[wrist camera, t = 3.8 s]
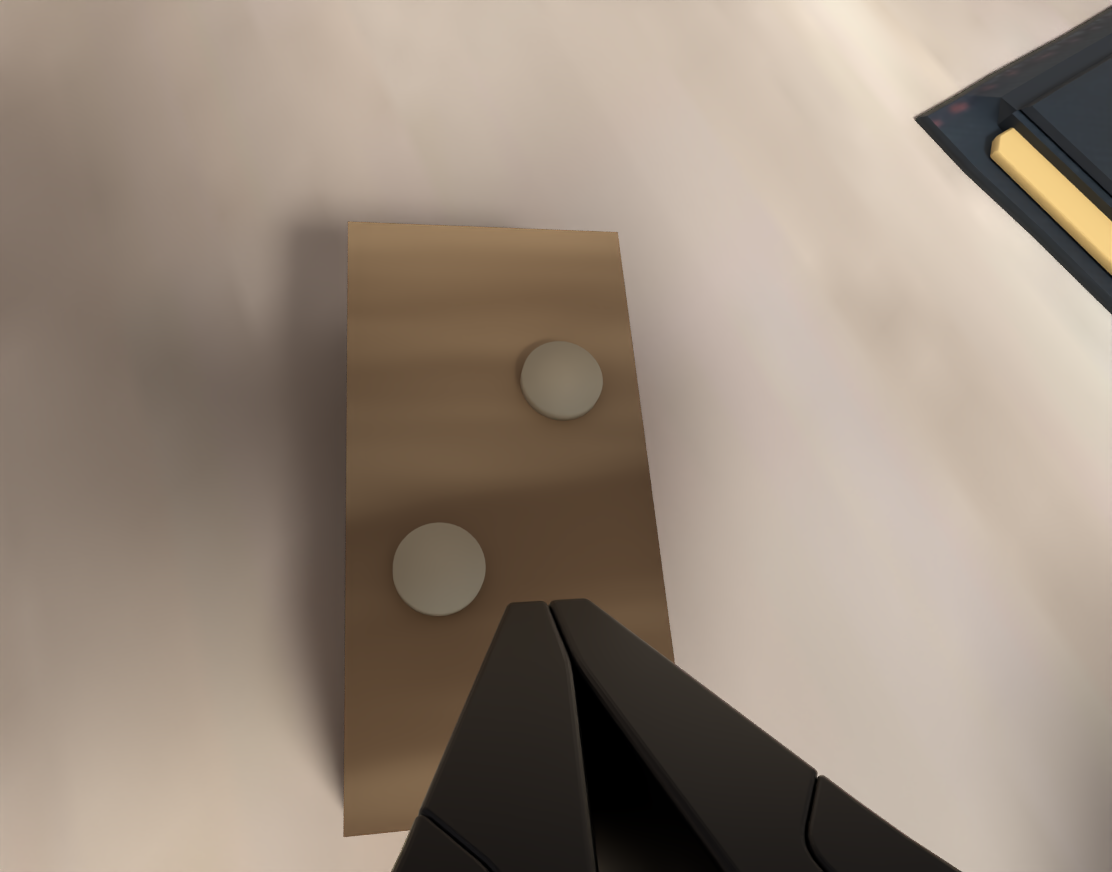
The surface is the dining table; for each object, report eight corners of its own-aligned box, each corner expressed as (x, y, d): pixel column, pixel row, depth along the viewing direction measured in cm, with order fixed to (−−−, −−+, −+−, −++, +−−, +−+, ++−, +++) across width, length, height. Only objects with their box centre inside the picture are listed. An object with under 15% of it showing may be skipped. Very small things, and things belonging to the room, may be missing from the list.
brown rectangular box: (698, 801, 12) (620, 224, 16) (342, 839, 11) (347, 213, 15) (634, 797, 15) (582, 317, 19) (352, 825, 14) (354, 313, 18)
